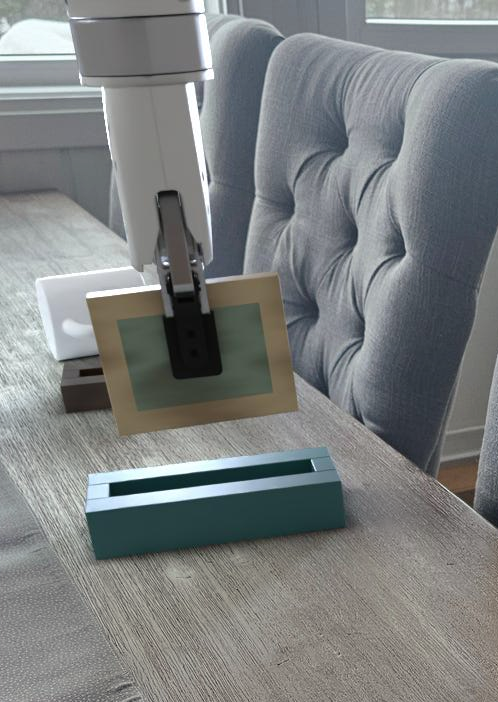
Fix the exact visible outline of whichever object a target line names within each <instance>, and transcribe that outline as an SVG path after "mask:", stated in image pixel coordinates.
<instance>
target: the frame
mask: <svg viewBox="0 0 498 702" xmlns="http://www.w3.org/2000/svg"><path fill="white" fill-rule="evenodd" d="M280 280H281V279H280V276H279V273H278V272H277V270H271V271H264V272H255V273H247V274H246V273H245V274H238V275H229V276H221V277H214V278H205V284H206V290H207V296H208V303H209V309H210V311H214V317H215V323H216V330H217V336H218V343H219V349H220V355H221V362H222V368H223V371H222V373H221V374H220V375H218V376H209V377H200V378H190V379H181V380H178V379H175V378H174V377H173V374H172V369H171V363H170V358H169V352H168V347H167V341H166V336H165V330H164V325H163V319H162V316H164V315H166V314H165V309H164V303H163V298H162V292H161V287H160V284H154V285H146V286H144V287H136V288H128V289H119V290H111V291H102V292H94V293H87V295H86V302H87V306H88V310H89V314H90V318H91V322H92V327H93V331H94V335H95V339H96V343H97V347H98V351H99V354H98V356H99V359H100V360H99V361H101V364H102V368H103V372H104V376H105V380H106V385H107V389H108V393H109V397H110V401H111V405H112V408H111V409H112V413H113V417H114V421H115V426H116V431H117V434H118V436H119V437H126V436H133V435H141V434H147V433H154V432H155V433H156V432H162V431H168V430H175V429H183V428H188V427H196V426H205V425H210V424H216V423H217V424H218V423H224V422H232V421H238V420H246V419H253V418H259V417H266V416H267V417H268V416H273V415H281V414H286V413H287V414H288V413H295V412H299V411H300V408H299V400H298V393H297V389H296V388H297V386H296V382H295V381H296V379H295V374H294V373H295V372H294V368H293V360H292V355H291V349H290V348H291V347H290V340H289V334H288V327H287V321H286V314H285V307H284V301H283V300H284V299H283V294H282V293H283V292H282V287H281V281H280ZM198 296H199V294H198ZM171 300H172V297H171ZM199 302H200V300H199ZM172 305H173V303H172ZM200 309H201V308H200ZM174 314H175V313H174Z"/></svg>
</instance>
